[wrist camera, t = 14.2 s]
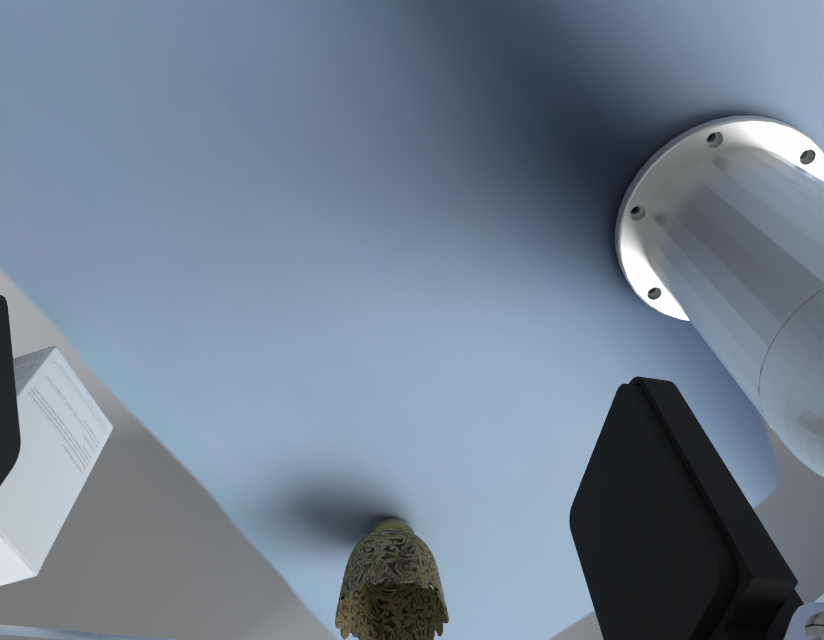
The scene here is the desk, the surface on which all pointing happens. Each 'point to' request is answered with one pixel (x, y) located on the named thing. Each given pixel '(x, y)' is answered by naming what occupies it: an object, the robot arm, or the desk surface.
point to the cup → (391, 587)
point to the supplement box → (46, 459)
